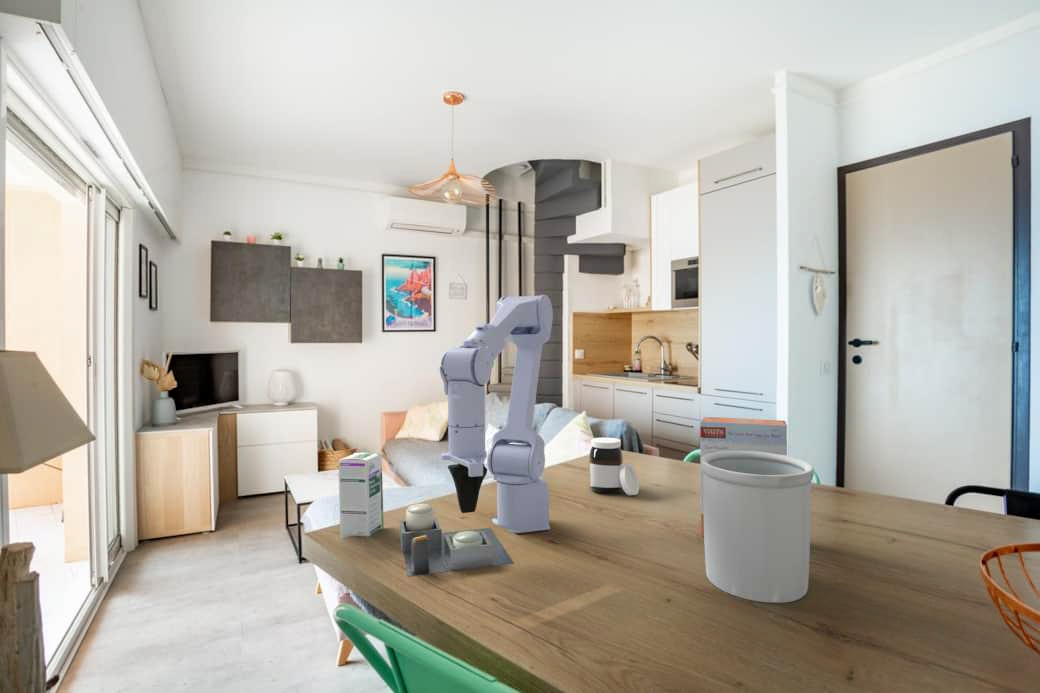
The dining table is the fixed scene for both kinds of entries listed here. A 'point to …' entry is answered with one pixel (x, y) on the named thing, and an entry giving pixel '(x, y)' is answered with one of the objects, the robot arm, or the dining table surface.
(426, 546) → the dial post
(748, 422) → the cracker box
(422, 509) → the knob cream
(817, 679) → the dining table surface
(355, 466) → the syrup box
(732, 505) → the utensil holder
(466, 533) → the knob sage
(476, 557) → the mount panel
